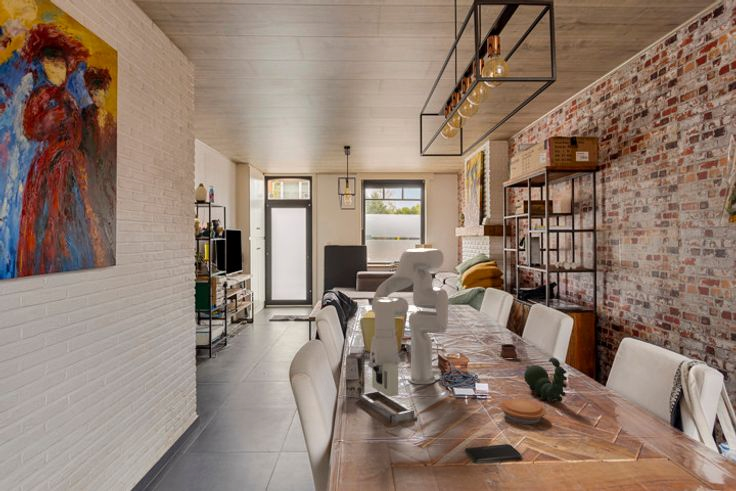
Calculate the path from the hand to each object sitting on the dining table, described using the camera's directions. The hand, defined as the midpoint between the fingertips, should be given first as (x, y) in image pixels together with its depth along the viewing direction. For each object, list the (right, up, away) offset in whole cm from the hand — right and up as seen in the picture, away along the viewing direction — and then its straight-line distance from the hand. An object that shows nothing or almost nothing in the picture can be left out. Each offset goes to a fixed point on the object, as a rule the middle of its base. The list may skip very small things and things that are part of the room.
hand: (384, 381), depth 156 cm
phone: (+31, -12, -32) cm, 46 cm away
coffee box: (-11, -11, +19) cm, 25 cm away
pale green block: (0, -3, 0) cm, 3 cm away
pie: (+49, -11, -6) cm, 51 cm away
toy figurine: (+65, -11, +15) cm, 68 cm away
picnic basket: (+4, -11, +96) cm, 97 cm away
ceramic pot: (+71, -11, +73) cm, 102 cm away
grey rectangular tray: (0, -11, 0) cm, 11 cm away
